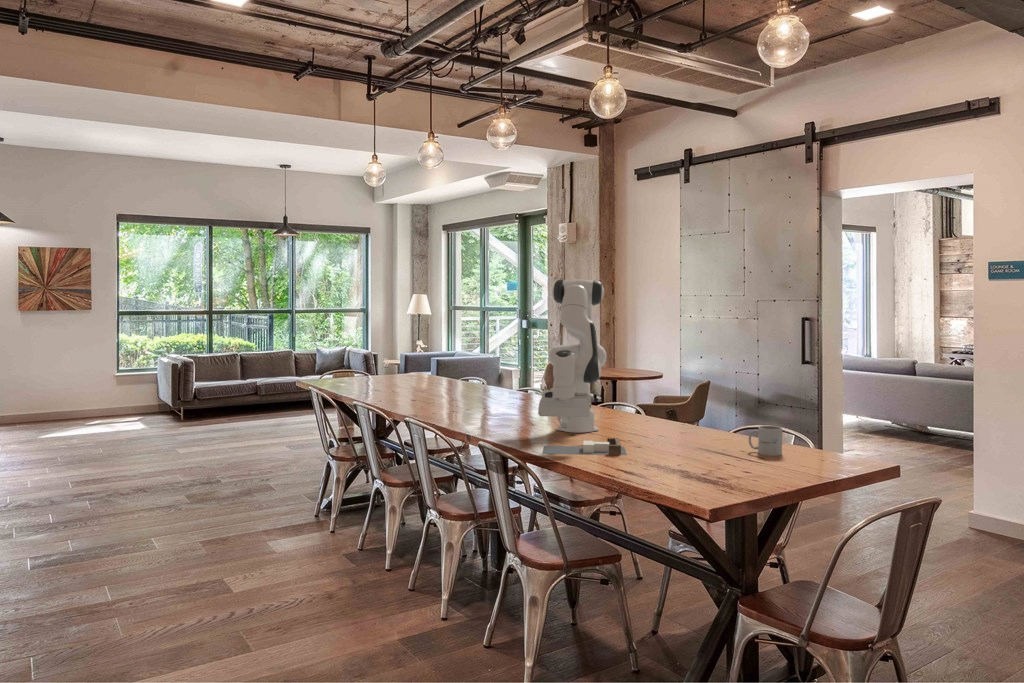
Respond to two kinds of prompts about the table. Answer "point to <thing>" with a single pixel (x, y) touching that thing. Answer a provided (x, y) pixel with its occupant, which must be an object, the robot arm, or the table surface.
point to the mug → (768, 440)
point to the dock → (614, 446)
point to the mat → (573, 450)
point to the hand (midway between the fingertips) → (564, 427)
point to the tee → (595, 446)
